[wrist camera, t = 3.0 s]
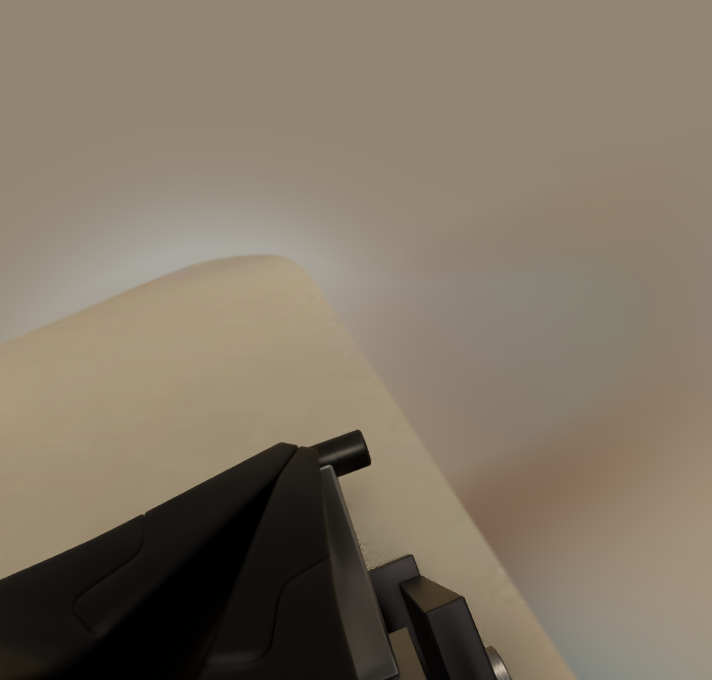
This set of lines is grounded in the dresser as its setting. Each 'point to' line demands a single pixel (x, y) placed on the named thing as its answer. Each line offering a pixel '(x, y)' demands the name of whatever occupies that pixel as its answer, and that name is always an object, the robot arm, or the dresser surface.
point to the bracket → (434, 623)
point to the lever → (360, 574)
